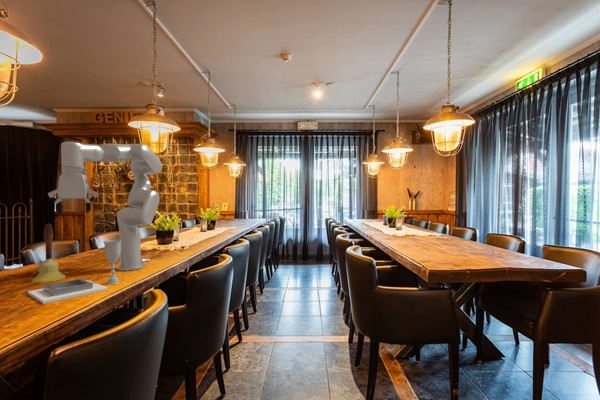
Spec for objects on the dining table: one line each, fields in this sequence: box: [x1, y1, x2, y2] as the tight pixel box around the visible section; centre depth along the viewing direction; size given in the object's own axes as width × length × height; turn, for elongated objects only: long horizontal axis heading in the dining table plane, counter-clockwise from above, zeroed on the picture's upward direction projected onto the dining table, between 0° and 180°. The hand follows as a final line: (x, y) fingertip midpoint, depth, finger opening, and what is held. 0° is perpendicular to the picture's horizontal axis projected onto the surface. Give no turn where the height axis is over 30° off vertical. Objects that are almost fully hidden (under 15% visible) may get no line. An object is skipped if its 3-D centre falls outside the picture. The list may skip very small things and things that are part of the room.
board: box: [27, 279, 109, 305], centre depth 120 cm, size 20×20×1 cm
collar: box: [42, 278, 93, 296], centre depth 120 cm, size 12×12×2 cm
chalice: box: [102, 239, 122, 285], centre depth 133 cm, size 7×7×18 cm
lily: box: [31, 253, 45, 276], centre depth 153 cm, size 12×12×10 cm
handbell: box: [30, 223, 67, 284], centre depth 141 cm, size 12×12×25 cm
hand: (74, 212), depth 130 cm, fingers open, 9 cm apart
